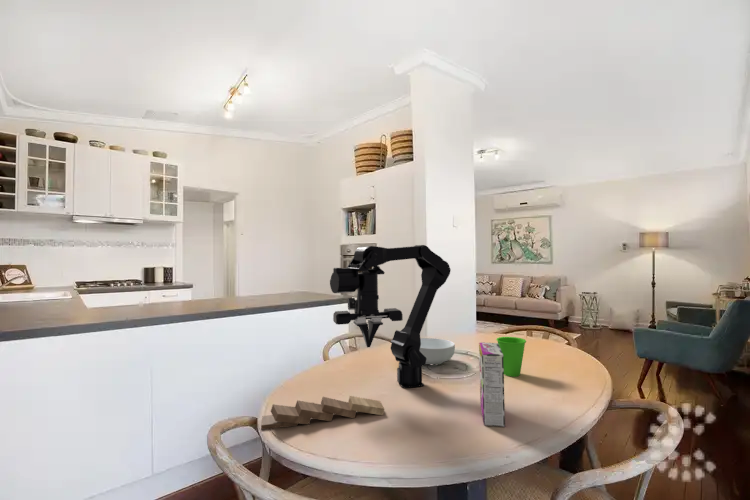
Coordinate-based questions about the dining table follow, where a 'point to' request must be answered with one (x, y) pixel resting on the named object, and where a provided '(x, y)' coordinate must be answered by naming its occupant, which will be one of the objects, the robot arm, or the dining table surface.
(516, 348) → the cup
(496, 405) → the candy bar box
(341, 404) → the domino
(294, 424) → the domino
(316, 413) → the domino
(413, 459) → the dining table surface
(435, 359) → the cereal bowl
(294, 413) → the domino
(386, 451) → the dining table surface
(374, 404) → the domino
